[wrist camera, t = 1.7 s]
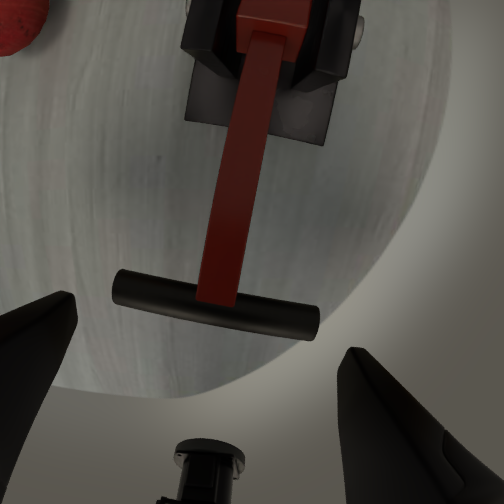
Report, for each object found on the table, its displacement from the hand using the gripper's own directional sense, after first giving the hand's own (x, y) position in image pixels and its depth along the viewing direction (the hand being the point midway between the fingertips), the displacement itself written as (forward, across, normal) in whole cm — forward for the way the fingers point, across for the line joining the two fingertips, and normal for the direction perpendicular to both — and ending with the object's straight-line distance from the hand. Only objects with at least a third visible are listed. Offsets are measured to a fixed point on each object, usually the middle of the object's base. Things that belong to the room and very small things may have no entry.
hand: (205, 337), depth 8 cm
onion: (+14, +17, -11) cm, 24 cm away
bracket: (+13, 0, -9) cm, 16 cm away
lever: (+5, 0, -4) cm, 6 cm away
